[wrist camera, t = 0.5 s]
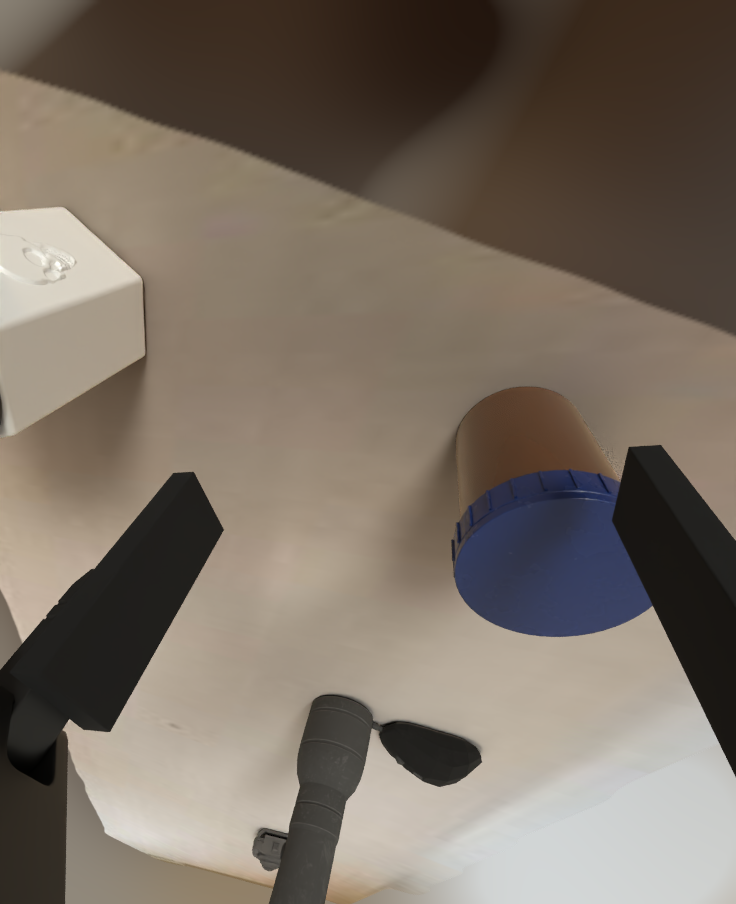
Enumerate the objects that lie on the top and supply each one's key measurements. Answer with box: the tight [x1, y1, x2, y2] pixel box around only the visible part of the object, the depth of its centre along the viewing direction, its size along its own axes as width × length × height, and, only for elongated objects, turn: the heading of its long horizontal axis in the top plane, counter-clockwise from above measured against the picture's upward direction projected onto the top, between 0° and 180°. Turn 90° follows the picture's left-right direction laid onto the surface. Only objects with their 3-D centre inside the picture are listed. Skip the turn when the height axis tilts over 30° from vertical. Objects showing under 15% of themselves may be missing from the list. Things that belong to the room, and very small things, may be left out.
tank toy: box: [252, 829, 288, 871], centre depth 77 cm, size 12×10×5 cm
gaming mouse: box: [372, 722, 482, 787], centre depth 45 cm, size 6×15×4 cm, turn 71°
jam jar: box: [456, 387, 621, 519], centre depth 20 cm, size 7×7×9 cm
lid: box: [451, 469, 653, 637], centre depth 17 cm, size 8×8×2 cm
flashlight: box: [269, 696, 373, 904], centre depth 34 cm, size 7×28×7 cm
